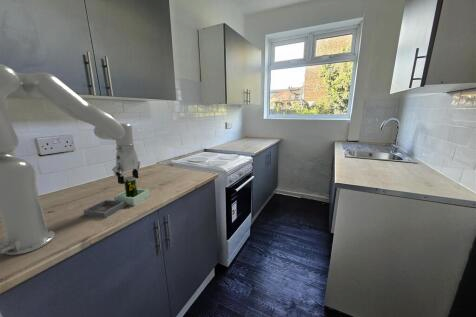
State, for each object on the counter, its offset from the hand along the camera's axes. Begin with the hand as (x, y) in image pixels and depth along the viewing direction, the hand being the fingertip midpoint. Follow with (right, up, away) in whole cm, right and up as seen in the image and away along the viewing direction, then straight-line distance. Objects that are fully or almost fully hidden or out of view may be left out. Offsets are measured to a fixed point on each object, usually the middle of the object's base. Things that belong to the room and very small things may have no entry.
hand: (128, 180), depth 102 cm
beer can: (0, -10, +3) cm, 11 cm away
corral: (-6, -13, -8) cm, 17 cm away
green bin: (0, -11, +3) cm, 11 cm away
